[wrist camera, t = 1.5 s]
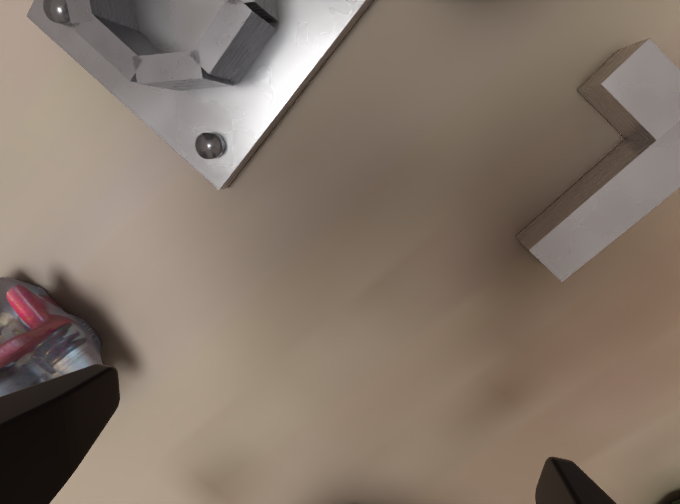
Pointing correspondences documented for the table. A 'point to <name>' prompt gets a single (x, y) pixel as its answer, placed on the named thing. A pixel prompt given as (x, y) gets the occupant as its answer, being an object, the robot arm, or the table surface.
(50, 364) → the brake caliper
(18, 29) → the table surface
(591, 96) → the loose bracket
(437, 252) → the table surface
